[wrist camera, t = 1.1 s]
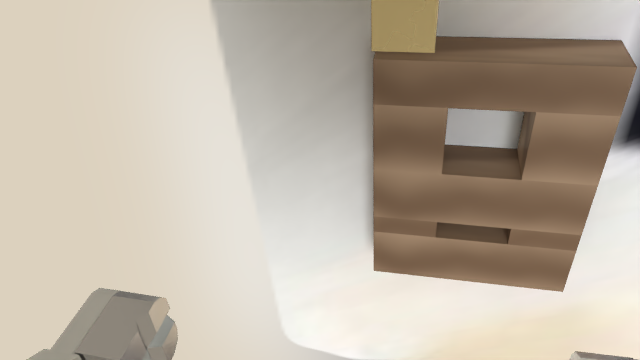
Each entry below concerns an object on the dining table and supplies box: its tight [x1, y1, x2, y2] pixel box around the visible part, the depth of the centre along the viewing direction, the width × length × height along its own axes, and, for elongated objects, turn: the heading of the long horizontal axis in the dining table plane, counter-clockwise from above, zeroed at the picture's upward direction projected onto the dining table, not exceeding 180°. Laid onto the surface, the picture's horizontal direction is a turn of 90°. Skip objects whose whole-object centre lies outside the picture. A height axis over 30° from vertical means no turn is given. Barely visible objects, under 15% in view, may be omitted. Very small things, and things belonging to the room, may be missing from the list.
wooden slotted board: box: [373, 37, 637, 292], centre depth 36 cm, size 18×14×4 cm
